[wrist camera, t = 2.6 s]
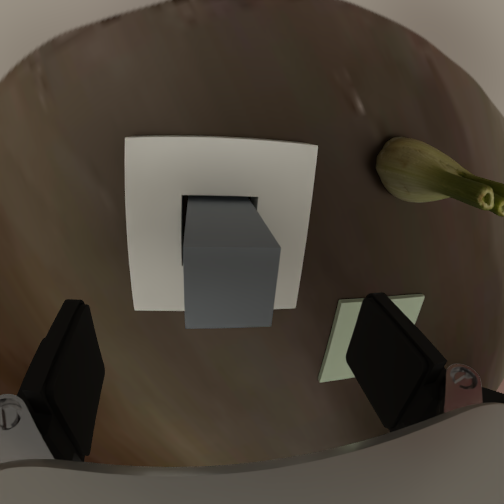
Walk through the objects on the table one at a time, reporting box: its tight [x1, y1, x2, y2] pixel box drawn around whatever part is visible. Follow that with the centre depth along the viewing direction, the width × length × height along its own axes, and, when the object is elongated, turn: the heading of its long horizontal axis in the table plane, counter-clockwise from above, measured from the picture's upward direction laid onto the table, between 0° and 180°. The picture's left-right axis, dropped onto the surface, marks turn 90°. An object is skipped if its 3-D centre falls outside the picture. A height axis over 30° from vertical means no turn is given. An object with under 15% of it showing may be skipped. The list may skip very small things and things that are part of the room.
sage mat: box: [318, 293, 425, 383], centre depth 30 cm, size 10×10×1 cm
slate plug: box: [183, 195, 281, 329], centre depth 18 cm, size 4×4×10 cm
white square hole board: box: [125, 135, 318, 311], centre depth 21 cm, size 12×12×2 cm
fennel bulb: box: [376, 137, 504, 217], centre depth 18 cm, size 6×5×12 cm
